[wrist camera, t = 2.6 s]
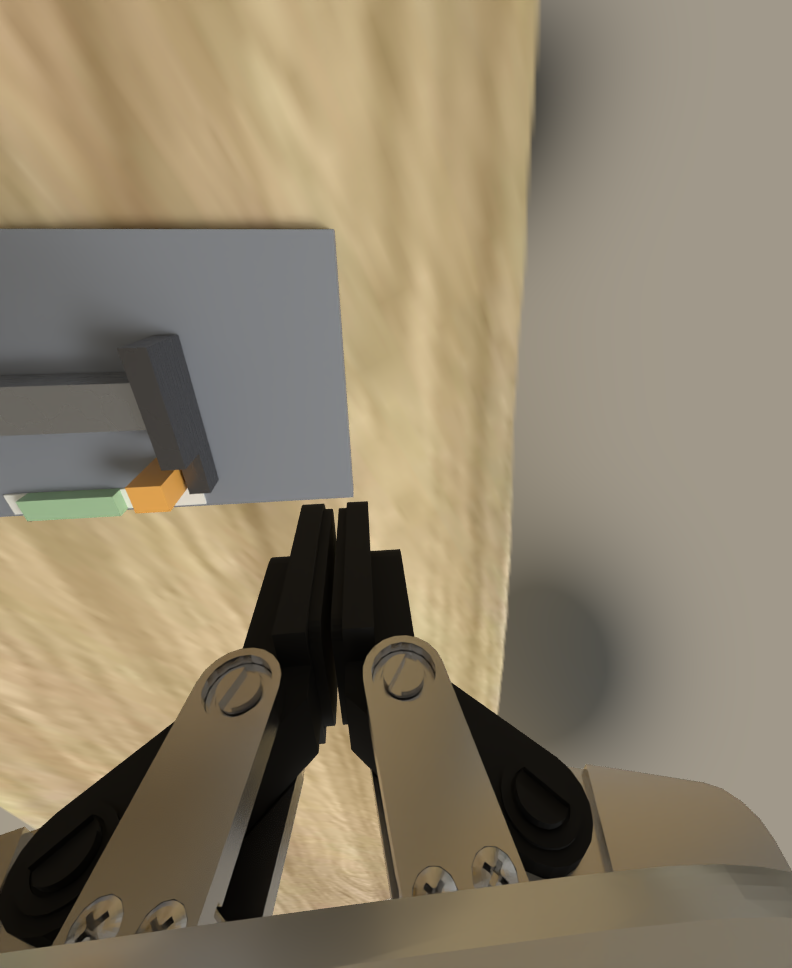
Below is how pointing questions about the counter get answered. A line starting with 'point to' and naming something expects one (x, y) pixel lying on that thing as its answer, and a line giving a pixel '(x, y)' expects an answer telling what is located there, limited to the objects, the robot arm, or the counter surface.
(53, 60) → the counter surface
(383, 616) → the robot arm
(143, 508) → the orange block
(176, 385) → the plunger
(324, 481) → the board
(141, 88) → the counter surface
